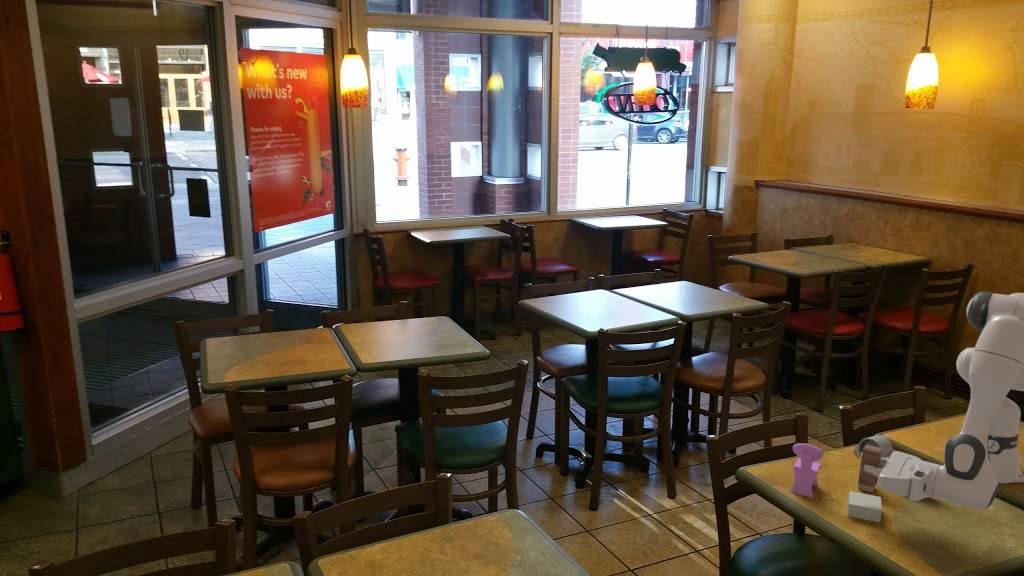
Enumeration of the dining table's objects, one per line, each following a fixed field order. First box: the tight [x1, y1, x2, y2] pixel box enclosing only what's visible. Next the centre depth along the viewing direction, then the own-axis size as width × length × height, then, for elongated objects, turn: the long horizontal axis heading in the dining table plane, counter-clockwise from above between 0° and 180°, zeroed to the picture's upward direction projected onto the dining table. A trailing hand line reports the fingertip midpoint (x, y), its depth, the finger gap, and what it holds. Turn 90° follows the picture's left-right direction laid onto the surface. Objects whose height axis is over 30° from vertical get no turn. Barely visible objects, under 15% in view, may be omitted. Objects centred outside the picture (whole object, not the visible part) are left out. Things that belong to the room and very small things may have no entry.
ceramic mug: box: [852, 434, 893, 458], centre depth 246 cm, size 11×8×8 cm
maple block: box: [857, 454, 875, 493], centre depth 225 cm, size 4×4×10 cm
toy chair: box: [789, 442, 824, 499], centre depth 223 cm, size 8×9×15 cm
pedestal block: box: [847, 490, 883, 523], centre depth 211 cm, size 8×8×4 cm
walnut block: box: [857, 445, 882, 488], centre depth 208 cm, size 4×4×10 cm
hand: (866, 463), depth 209 cm, fingers closed on walnut block, 4 cm apart
